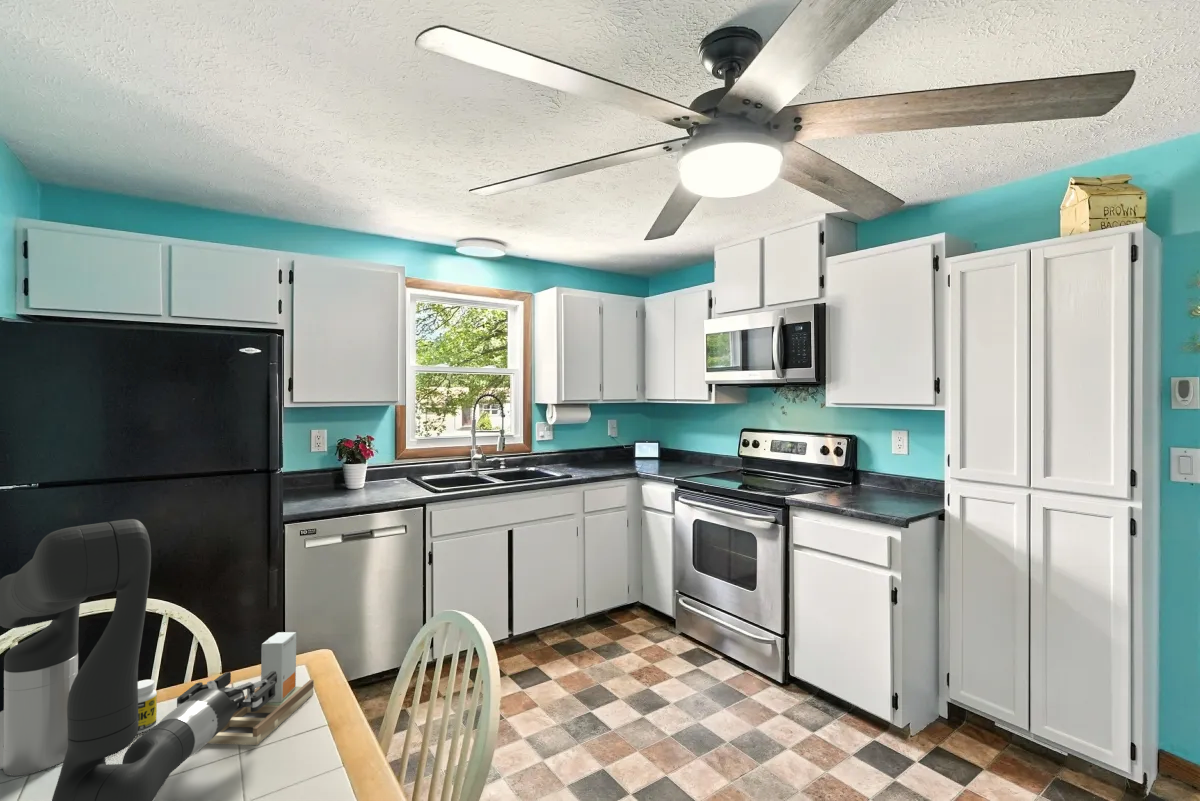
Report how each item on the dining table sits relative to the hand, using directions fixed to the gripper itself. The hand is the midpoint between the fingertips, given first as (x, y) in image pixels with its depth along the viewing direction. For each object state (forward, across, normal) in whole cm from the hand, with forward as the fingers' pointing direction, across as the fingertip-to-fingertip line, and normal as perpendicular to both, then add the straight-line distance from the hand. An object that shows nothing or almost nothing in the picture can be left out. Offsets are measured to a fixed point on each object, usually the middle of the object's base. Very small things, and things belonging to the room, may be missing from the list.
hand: (251, 676), depth 107 cm
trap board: (+5, 0, +10) cm, 11 cm away
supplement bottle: (+2, +22, +10) cm, 24 cm away
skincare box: (+9, 0, +9) cm, 13 cm away
